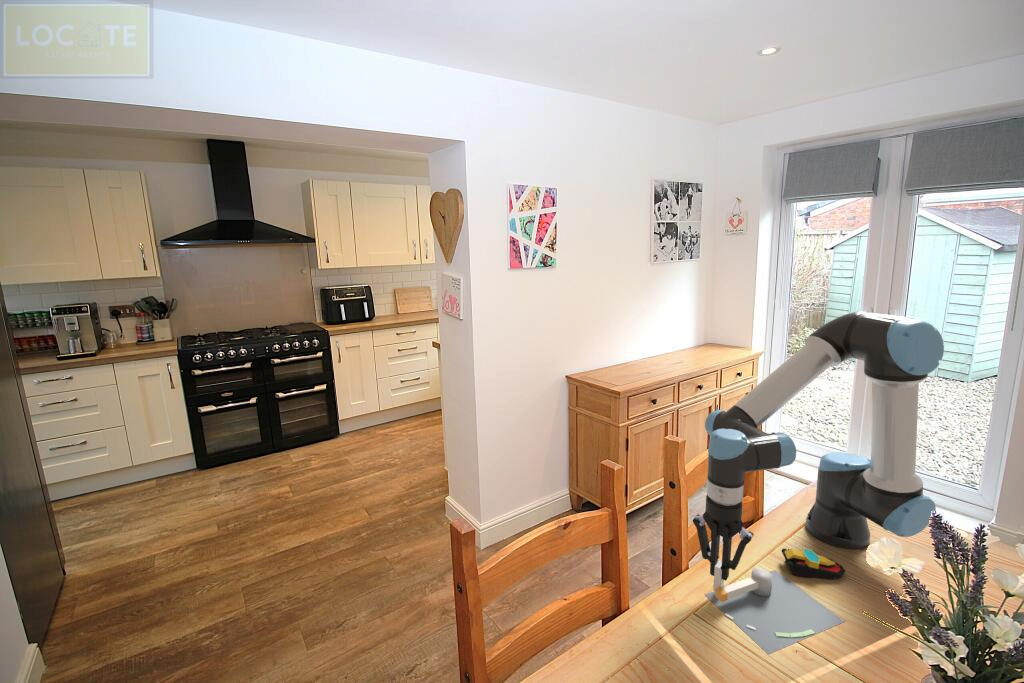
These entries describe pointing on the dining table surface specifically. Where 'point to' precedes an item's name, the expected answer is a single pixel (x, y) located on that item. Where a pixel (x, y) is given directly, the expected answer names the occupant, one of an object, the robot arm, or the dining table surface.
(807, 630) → the dial board
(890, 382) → the robot arm
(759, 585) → the white mallet
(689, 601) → the dining table surface
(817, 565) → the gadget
